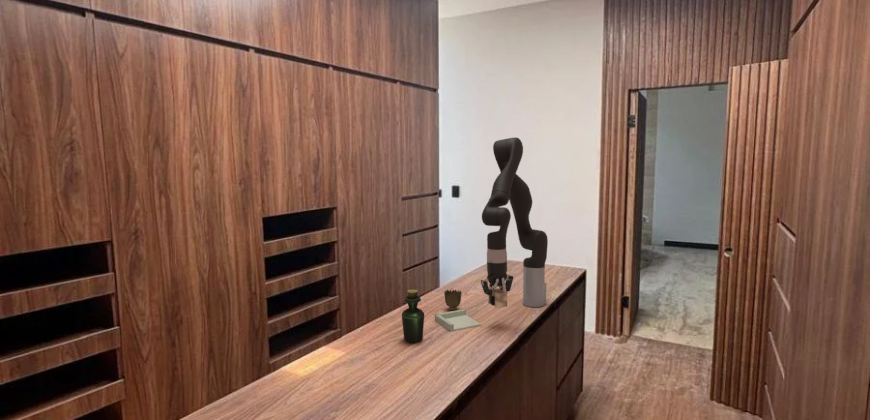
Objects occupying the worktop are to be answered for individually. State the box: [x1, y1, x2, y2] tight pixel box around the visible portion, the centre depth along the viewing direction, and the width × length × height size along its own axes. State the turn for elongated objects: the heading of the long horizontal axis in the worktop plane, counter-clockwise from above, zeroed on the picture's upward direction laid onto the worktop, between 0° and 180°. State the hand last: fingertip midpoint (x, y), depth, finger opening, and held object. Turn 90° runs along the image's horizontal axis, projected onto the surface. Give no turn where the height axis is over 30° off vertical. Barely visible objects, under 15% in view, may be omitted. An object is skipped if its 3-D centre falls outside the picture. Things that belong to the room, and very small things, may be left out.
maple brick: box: [487, 287, 508, 309], centre depth 174 cm, size 4×7×6 cm, turn 27°
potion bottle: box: [401, 289, 425, 344], centre depth 162 cm, size 8×8×18 cm
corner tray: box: [434, 308, 482, 332], centre depth 180 cm, size 14×13×2 cm
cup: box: [444, 289, 462, 312], centre depth 195 cm, size 8×7×8 cm
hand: (497, 303), depth 174 cm, fingers closed on maple brick, 4 cm apart
